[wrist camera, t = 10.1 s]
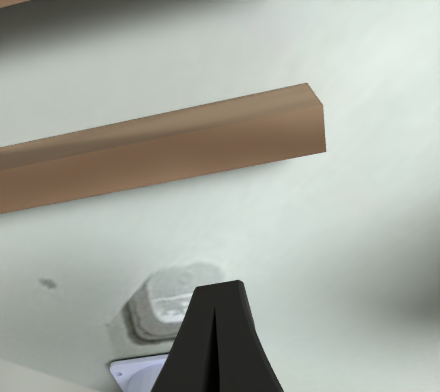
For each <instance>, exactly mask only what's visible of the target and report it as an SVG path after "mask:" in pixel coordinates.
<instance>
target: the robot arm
mask: <svg viewBox="0 0 440 392" xmlns="http://www.w3.org/2000/svg"><path fill="white" fill-rule="evenodd" d="M109 370H110V372H111V373H112V375H113V376H114V378H115V380H116V381H117V383H118V384H119V386H120V388H121V389H122V391H123V392H284V391H283V389H282V387H281V385H280V383H279V381H278V379H277V377H276V375H275V373H274V371H273V369H272V367H271V365H270V363H269V361H268V359H267V357H266V354H265V352H264V350H263V348H262V345H261V343H260V340H259V338H258V336H257V333H256V331H255V326H254V321H253V317H252V314H251V310H250V306H249V302H248V298H247V295H246V291H245V287H244V283H243V282H242V281H240V280H235V281H229V282H223V283H217V284H211V285H205V286H198V287H196V288H195V290H194V292H193V295H192V298H191V301H190V304H189V307H188V309H187V312H186V315H185V317H184V320H183V322H182V325H181V327H180V330H179V332H178V334H177V337H176V339H175V341H174V343H173V346H172V348H171V350H170V353H169V354H166V355H158V356H151V357H144V358H137V359H129V360H122V361H115V362H112V363H111V364H110V368H109Z"/></svg>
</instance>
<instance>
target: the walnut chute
mask: <svg viewBox="0 0 440 392" xmlns="http://www.w3.org/2000/svg"><path fill="white" fill-rule="evenodd" d="M28 1H32V0H0V9H1V8H5V7H8V6H12V5H16V4H20V3H24V2H28ZM322 152H326V142H325V128H324V113H323V104H322V103H321V102H320V100H319V99H318V97H317V96H316V95H315V93H314V92H313V90H312V89H311V88H310V86H309V85H308V83H304V84H299V85H294V86H290V87H285V88H280V89H276V90H271V91H266V92H261V93H257V94H252V95H247V96H242V97H238V98H233V99H228V100H223V101H219V102H214V103H209V104H205V105H200V106H195V107H190V108H186V109H181V110H176V111H171V112H167V113H162V114H157V115H153V116H148V117H143V118H138V119H134V120H129V121H124V122H119V123H115V124H110V125H105V126H100V127H96V128H91V129H86V130H82V131H77V132H72V133H67V134H63V135H58V136H53V137H48V138H44V139H39V140H34V141H29V142H25V143H20V144H15V145H11V146H6V147H1V148H0V214H2V213H7V212H12V211H18V210H23V209H28V208H33V207H39V206H44V205H49V204H54V203H60V202H65V201H70V200H75V199H81V198H86V197H91V196H96V195H102V194H107V193H112V192H117V191H123V190H128V189H133V188H138V187H144V186H149V185H154V184H159V183H165V182H170V181H175V180H180V179H186V178H191V177H196V176H201V175H207V174H212V173H217V172H223V171H228V170H233V169H238V168H244V167H249V166H254V165H259V164H265V163H270V162H275V161H280V160H286V159H291V158H296V157H301V156H307V155H312V154H317V153H322Z"/></svg>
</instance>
